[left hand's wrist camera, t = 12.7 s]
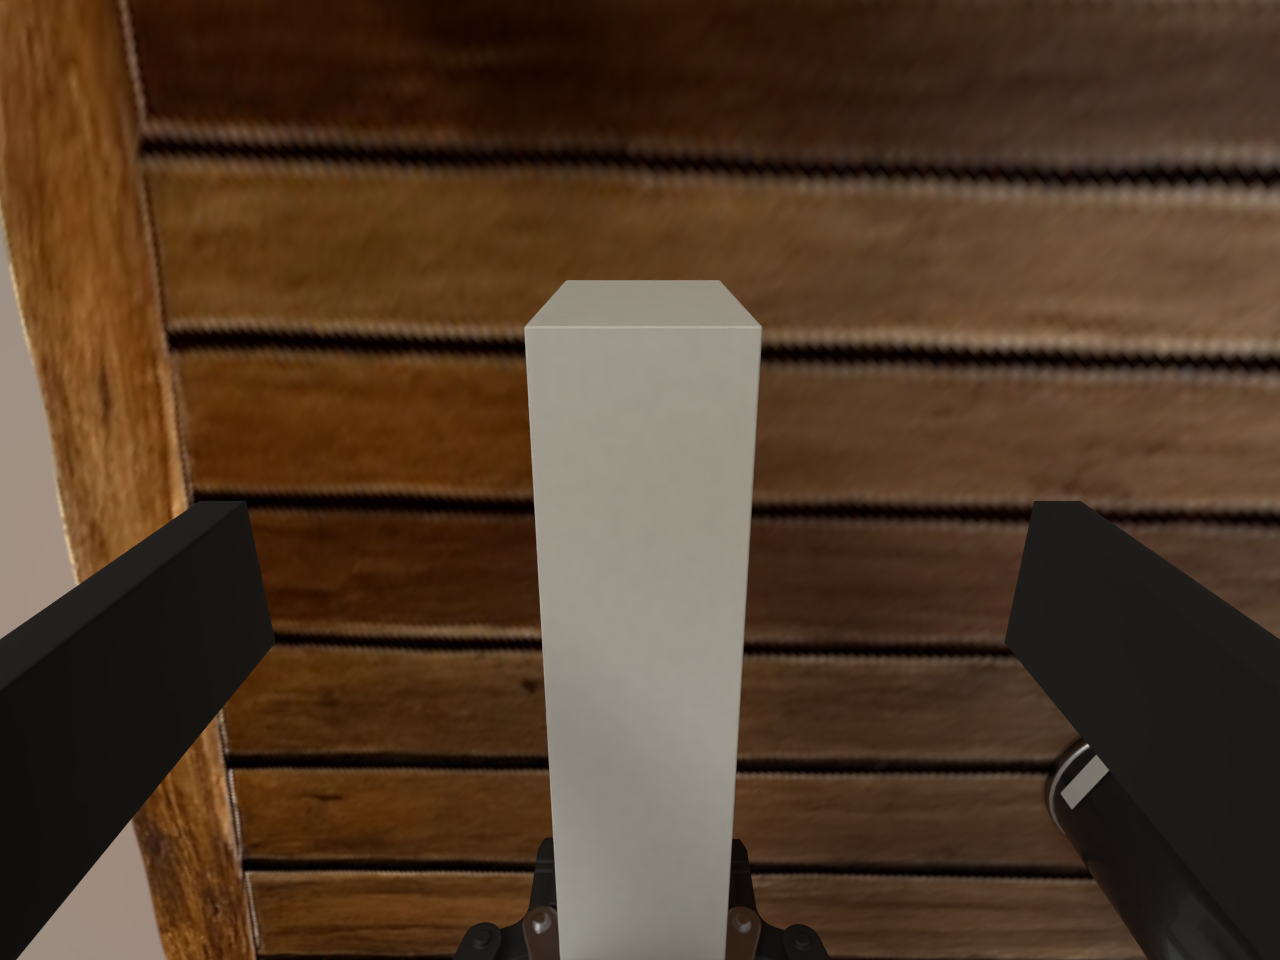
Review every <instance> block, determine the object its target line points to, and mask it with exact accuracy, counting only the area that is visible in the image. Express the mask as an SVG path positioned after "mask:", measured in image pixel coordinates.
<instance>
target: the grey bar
mask: <svg viewBox="0 0 1280 960" xmlns="http://www.w3.org/2000/svg"><path fill="white" fill-rule="evenodd" d="M524 329H525V347H526V365H527V382H528V400H529V418H530V435H531V453H532V471H533V488H534V506H535V524H536V541H537V559H538V577H539V594H540V612H541V630H542V647H543V665H544V683H545V700H546V718H547V736H548V753H549V771H550V789H551V806H552V824H553V842H554V859H555V877H556V895H557V912H558V930H559V948H560V960H725V952H726V935H727V918H728V901H729V884H730V868H731V851H732V834H733V817H734V800H735V783H736V766H737V749H738V732H739V715H740V698H741V681H742V665H743V648H744V631H745V614H746V597H747V580H748V563H749V546H750V529H751V512H752V495H753V478H754V461H755V445H756V428H757V411H758V394H759V377H760V360H761V343H762V326H761V325H760V324H759V323H758V322H757V321H756V320H755V319H754V318H753V317H752V315H751V314H750V313H749V312H748V311H747V310H746V309H745V308H744V307H743V306H742V304H741V303H740V302H739V301H738V300H737V299H736V298H735V297H734V296H733V295H732V294H731V292H730V291H729V290H728V289H727V288H726V287H725V286H724V285H723V284H722V283H721V281H719V280H567V281H565V283H564V284H563V285H562V286H561V287H560V288H559V289H558V290H557V292H556V293H555V294H554V295H553V296H552V297H551V298H550V299H549V300H548V302H547V303H546V304H545V305H544V306H543V307H542V308H541V309H540V311H539V312H538V313H537V314H536V315H535V316H534V317H533V318H532V319H531V321H530V322H529V323H528V324H527V325H526V326H525V328H524Z"/></svg>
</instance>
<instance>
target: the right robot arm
mask: <svg viewBox="0 0 1280 960" xmlns="http://www.w3.org/2000/svg"><path fill="white" fill-rule="evenodd" d="M1045 802H1046V806H1047V809H1048V811H1049V813H1050V815H1051V817H1052V818H1053V820H1054V821H1055V823H1056V824H1057V826H1058V827H1059V828H1060V830H1061V831H1062V832H1063V833H1064V834H1065V835H1066V836H1067V837H1068V839H1069V840H1070V842H1071V844H1072V845H1073V847H1074V848H1075V850H1076V851H1077V853H1078V854H1079V856H1080V857H1081V859H1082V860H1083V862H1084V863H1085V865H1086V866H1087V868H1088V870H1089V871H1090V873H1091V874H1092V876H1093V877H1094V879H1095V880H1096V882H1097V883H1098V885H1099V886H1100V888H1101V889H1102V891H1103V892H1104V894H1105V895H1106V897H1107V898H1108V900H1109V901H1110V903H1111V904H1112V906H1113V907H1114V909H1115V910H1116V912H1117V913H1118V915H1119V916H1120V918H1121V919H1122V921H1123V922H1124V924H1125V925H1126V927H1127V928H1128V930H1129V931H1130V933H1131V934H1132V936H1133V937H1134V939H1135V940H1136V942H1137V943H1138V945H1139V946H1140V948H1141V949H1142V951H1143V952H1144V954H1145V955H1146V957H1147V958H1148V960H1264V959H1263V958H1262V957H1261V956H1260V954H1259V953H1258V952H1257V951H1256V950H1255V948H1254V947H1253V946H1252V945H1251V943H1250V942H1249V941H1248V940H1247V939H1246V937H1245V936H1244V935H1243V934H1242V932H1241V931H1240V930H1239V929H1238V927H1237V926H1236V925H1235V924H1234V923H1233V921H1232V920H1231V919H1230V918H1229V916H1228V915H1227V914H1226V913H1225V912H1224V910H1223V909H1222V908H1221V907H1220V905H1219V904H1218V903H1217V902H1216V901H1215V899H1214V898H1213V897H1212V896H1211V894H1210V893H1209V892H1208V891H1207V890H1206V888H1205V887H1204V886H1203V885H1202V883H1201V882H1200V881H1199V880H1198V879H1197V877H1196V876H1195V875H1194V874H1193V872H1192V871H1191V870H1190V869H1189V868H1188V866H1187V865H1186V864H1185V863H1184V861H1183V860H1182V859H1181V858H1180V856H1179V855H1178V854H1177V853H1176V852H1175V850H1174V849H1173V848H1172V847H1171V845H1170V844H1169V843H1168V842H1167V841H1166V839H1165V838H1164V837H1163V836H1162V834H1161V833H1160V832H1159V831H1158V830H1157V828H1156V827H1155V826H1154V825H1153V823H1152V822H1151V821H1150V820H1149V819H1148V817H1147V816H1146V815H1145V814H1144V812H1143V811H1142V810H1141V809H1140V808H1139V806H1138V805H1137V804H1136V803H1135V801H1134V800H1133V799H1132V798H1131V797H1130V795H1129V794H1128V793H1127V792H1126V790H1125V789H1124V788H1123V787H1122V785H1121V784H1120V783H1119V782H1118V781H1117V779H1116V778H1115V777H1114V776H1113V774H1112V773H1111V772H1110V771H1109V770H1108V768H1107V767H1106V766H1105V765H1104V763H1103V762H1102V761H1101V760H1100V759H1099V757H1098V756H1097V755H1096V754H1095V752H1094V751H1093V750H1092V749H1091V748H1090V746H1089V745H1088V744H1087V743H1086V741H1085V740H1084V739H1083V738H1081V739H1080V740H1078V741H1077V742H1075V743H1074V744H1073V745H1072V746H1070V747H1069V748H1068V749H1067V750H1066V751H1065V752H1064V753H1063V754H1062V755H1061V756H1060V757H1059V759H1058V760H1057V761H1056V763H1055V764H1054V766H1053V768H1052V769H1051V771H1050V773H1049V776H1048V779H1047V782H1046V786H1045ZM453 960H560V948H559V930H558V912H557V895H556V877H555V859H554V842H553V838H545V839H544V841H543V842H542V844H541V846H540V847H539V849H538V854H537V860H536V867H535V873H534V879H533V885H532V892H531V898H530V904H529V909H528V911H527V913H526V915H525V916H524V917H523V918H522V919H521V920H520V921H519V922H517V923H516V924H514V925H511V926H508V927H505V928H502V929H499V928H498V927H497V926H496V925H494V924H492V923H488V922H483V923H479V924H476V925H474V926H473V927H471V928H470V929H469V930H468V931H467V933H466V934H465V936H464V938H463V940H462V942H461V944H460V946H459V948H458V950H457V952H456V954H455V956H454V958H453ZM725 960H830V958H829V956H828V954H827V952H826V950H825V948H824V946H823V944H822V942H821V940H820V938H819V936H818V934H817V933H816V932H815V931H814V930H813V929H811V928H810V927H808V926H805V925H801V924H796V925H792V926H790V927H788V928H787V929H786V930H782V929H779V928H776V927H773V926H771V925H769V924H767V923H766V922H765V921H764V920H763V919H762V918H761V917H760V916H759V914H758V912H757V909H756V904H755V898H754V891H753V885H752V879H751V874H750V866H749V860H748V854H747V850H746V848H745V846H744V845H743V843H742V842H741V840H740V839H732V851H731V868H730V884H729V901H728V918H727V935H726V952H725Z"/></svg>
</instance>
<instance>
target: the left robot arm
mask: <svg viewBox="0 0 1280 960" xmlns="http://www.w3.org/2000/svg"><path fill="white" fill-rule="evenodd" d="M274 643H275V638H274V634H273V629H272V624H271V619H270V615H269V610H268V605H267V600H266V595H265V591H264V586H263V581H262V576H261V571H260V567H259V562H258V557H257V552H256V548H255V543H254V538H253V533H252V528H251V524H250V519H249V514H248V509H247V505H246V501H199V502H198V503H196V504H195V505H193V506H192V507H191V508H189V509H188V510H186V511H185V512H183V513H182V514H180V515H179V516H178V517H176V518H175V519H173V520H172V521H170V522H169V523H167V524H166V525H165V526H163V527H162V528H160V529H159V530H157V531H156V532H154V533H153V534H152V535H150V536H149V537H147V538H146V539H144V540H143V541H142V542H140V543H139V544H137V545H136V546H134V547H133V548H131V549H130V550H129V551H127V552H126V553H124V554H123V555H121V556H120V557H118V558H117V559H116V560H114V561H113V562H111V563H110V564H108V565H107V566H105V567H104V568H103V569H101V570H100V571H98V572H97V573H95V574H94V575H92V576H91V577H90V578H88V579H87V580H85V581H84V582H82V583H81V584H79V585H78V586H77V587H75V588H74V589H72V590H71V591H69V592H68V593H66V594H65V595H64V596H62V597H61V598H59V599H58V600H56V601H55V602H53V603H52V604H51V605H49V606H48V607H46V608H45V609H43V610H42V611H41V612H39V613H38V614H36V615H35V616H33V617H32V618H30V619H29V620H28V621H26V622H25V623H23V624H22V625H20V626H19V627H17V628H16V629H15V630H13V631H12V632H10V633H9V634H7V635H6V636H4V637H3V638H2V639H0V960H16V959H17V958H18V957H19V956H20V954H21V953H22V952H23V951H24V950H25V948H26V947H27V946H28V945H29V943H30V942H31V941H32V940H33V938H34V937H35V936H36V935H37V934H38V932H39V931H40V930H41V929H42V927H43V926H44V925H45V924H46V922H47V921H48V920H49V919H50V918H51V916H52V915H53V914H54V913H55V912H56V910H57V909H58V908H59V907H60V905H61V904H62V903H63V902H64V901H65V899H66V898H67V897H68V896H69V894H70V893H71V892H72V891H73V890H74V888H75V887H76V886H77V885H78V883H79V882H80V881H81V880H82V879H83V877H84V876H85V875H86V874H87V872H88V871H89V870H90V869H91V868H92V866H93V865H94V864H95V863H96V861H97V860H98V859H99V858H100V856H101V855H102V854H103V853H104V852H105V850H106V849H107V848H108V847H109V845H110V844H111V843H112V842H113V841H114V839H115V838H116V837H117V836H118V834H119V833H120V832H121V831H122V830H123V828H124V827H125V826H126V825H127V823H128V822H129V821H130V820H131V819H132V817H133V816H134V815H135V814H136V812H137V811H138V810H139V809H140V808H141V806H142V805H143V804H144V803H145V801H146V800H147V799H148V798H149V797H150V795H151V794H152V793H153V792H154V790H155V789H156V788H157V787H158V785H159V784H160V783H161V782H162V781H163V779H164V778H165V777H166V776H167V774H168V773H169V772H170V771H171V770H172V768H173V767H174V766H175V765H176V763H177V762H178V761H179V760H180V759H181V757H182V756H183V755H184V754H185V752H186V751H187V750H188V749H189V748H190V746H191V745H192V744H193V743H194V741H195V740H196V739H197V738H198V737H199V735H200V734H201V733H202V732H203V730H204V729H205V728H206V727H207V726H208V724H209V723H210V722H211V721H212V719H213V718H214V717H215V716H216V714H217V713H218V712H219V711H220V710H221V708H222V707H223V706H224V705H225V703H226V702H227V701H228V700H229V699H230V697H231V696H232V695H233V694H234V692H235V691H236V690H237V689H238V688H239V686H240V685H241V684H242V683H243V681H244V680H245V679H246V678H247V677H248V675H249V674H250V673H251V672H252V670H253V669H254V668H255V667H256V666H257V664H258V663H259V662H260V661H261V659H262V658H263V657H264V656H265V654H266V653H267V652H268V651H269V650H270V648H271V647H272V646H273V645H274ZM1005 643H1006V645H1007V646H1008V647H1009V648H1010V650H1011V651H1012V652H1013V653H1014V655H1015V656H1016V657H1017V658H1018V659H1019V661H1020V662H1021V663H1022V664H1023V666H1024V667H1025V668H1026V669H1027V670H1028V672H1029V673H1030V674H1031V675H1032V677H1033V678H1034V679H1035V680H1036V681H1037V683H1038V684H1039V685H1040V686H1041V688H1042V689H1043V690H1044V691H1045V692H1046V694H1047V695H1048V696H1049V697H1050V699H1051V700H1052V701H1053V702H1054V703H1055V705H1056V706H1057V707H1058V708H1059V710H1060V711H1061V712H1062V713H1063V714H1064V716H1065V717H1066V718H1067V719H1068V721H1069V722H1070V723H1071V724H1072V726H1073V727H1074V728H1075V729H1076V730H1077V732H1078V733H1079V734H1080V735H1081V737H1082V738H1083V739H1084V740H1085V741H1086V743H1087V744H1088V745H1089V746H1090V748H1091V749H1092V750H1093V751H1094V752H1095V754H1096V755H1097V756H1098V757H1099V759H1100V760H1101V761H1102V762H1103V763H1104V765H1105V766H1106V767H1107V768H1108V770H1109V771H1110V772H1111V773H1112V774H1113V776H1114V777H1115V778H1116V779H1117V781H1118V782H1119V783H1120V784H1121V785H1122V787H1123V788H1124V789H1125V790H1126V792H1127V793H1128V794H1129V795H1130V797H1131V798H1132V799H1133V800H1134V801H1135V803H1136V804H1137V805H1138V806H1139V808H1140V809H1141V810H1142V811H1143V812H1144V814H1145V815H1146V816H1147V817H1148V819H1149V820H1150V821H1151V822H1152V823H1153V825H1154V826H1155V827H1156V828H1157V830H1158V831H1159V832H1160V833H1161V834H1162V836H1163V837H1164V838H1165V839H1166V841H1167V842H1168V843H1169V844H1170V845H1171V847H1172V848H1173V849H1174V850H1175V852H1176V853H1177V854H1178V855H1179V856H1180V858H1181V859H1182V860H1183V861H1184V863H1185V864H1186V865H1187V866H1188V868H1189V869H1190V870H1191V871H1192V872H1193V874H1194V875H1195V876H1196V877H1197V879H1198V880H1199V881H1200V882H1201V883H1202V885H1203V886H1204V887H1205V888H1206V890H1207V891H1208V892H1209V893H1210V894H1211V896H1212V897H1213V898H1214V899H1215V901H1216V902H1217V903H1218V904H1219V905H1220V907H1221V908H1222V909H1223V910H1224V912H1225V913H1226V914H1227V915H1228V916H1229V918H1230V919H1231V920H1232V921H1233V923H1234V924H1235V925H1236V926H1237V927H1238V929H1239V930H1240V931H1241V932H1242V934H1243V935H1244V936H1245V937H1246V939H1247V940H1248V941H1249V942H1250V943H1251V945H1252V946H1253V947H1254V948H1255V950H1256V951H1257V952H1258V953H1259V954H1260V956H1261V957H1262V958H1263V959H1264V960H1280V639H1278V638H1277V637H1276V636H1274V635H1273V634H1271V633H1270V632H1268V631H1267V630H1265V629H1264V628H1263V627H1261V626H1260V625H1258V624H1257V623H1255V622H1254V621H1252V620H1251V619H1250V618H1248V617H1247V616H1245V615H1244V614H1242V613H1241V612H1240V611H1238V610H1237V609H1235V608H1234V607H1232V606H1231V605H1229V604H1228V603H1227V602H1225V601H1224V600H1222V599H1221V598H1219V597H1218V596H1216V595H1215V594H1214V593H1212V592H1211V591H1209V590H1208V589H1206V588H1205V587H1203V586H1202V585H1201V584H1199V583H1198V582H1196V581H1195V580H1193V579H1192V578H1190V577H1189V576H1188V575H1186V574H1185V573H1183V572H1182V571H1180V570H1179V569H1177V568H1176V567H1175V566H1173V565H1172V564H1170V563H1169V562H1167V561H1166V560H1164V559H1163V558H1162V557H1160V556H1159V555H1157V554H1156V553H1154V552H1153V551H1151V550H1150V549H1149V548H1147V547H1146V546H1144V545H1143V544H1141V543H1140V542H1138V541H1137V540H1136V539H1134V538H1133V537H1131V536H1130V535H1128V534H1127V533H1126V532H1124V531H1123V530H1121V529H1120V528H1118V527H1117V526H1115V525H1114V524H1113V523H1111V522H1110V521H1108V520H1107V519H1105V518H1104V517H1102V516H1101V515H1100V514H1098V513H1097V512H1095V511H1094V510H1092V509H1091V508H1089V507H1088V506H1087V505H1085V504H1084V503H1082V502H1081V501H1034V505H1033V509H1032V514H1031V519H1030V524H1029V528H1028V533H1027V538H1026V543H1025V548H1024V552H1023V557H1022V562H1021V567H1020V571H1019V576H1018V581H1017V586H1016V591H1015V595H1014V600H1013V605H1012V610H1011V615H1010V619H1009V624H1008V629H1007V634H1006V638H1005Z"/></svg>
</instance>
